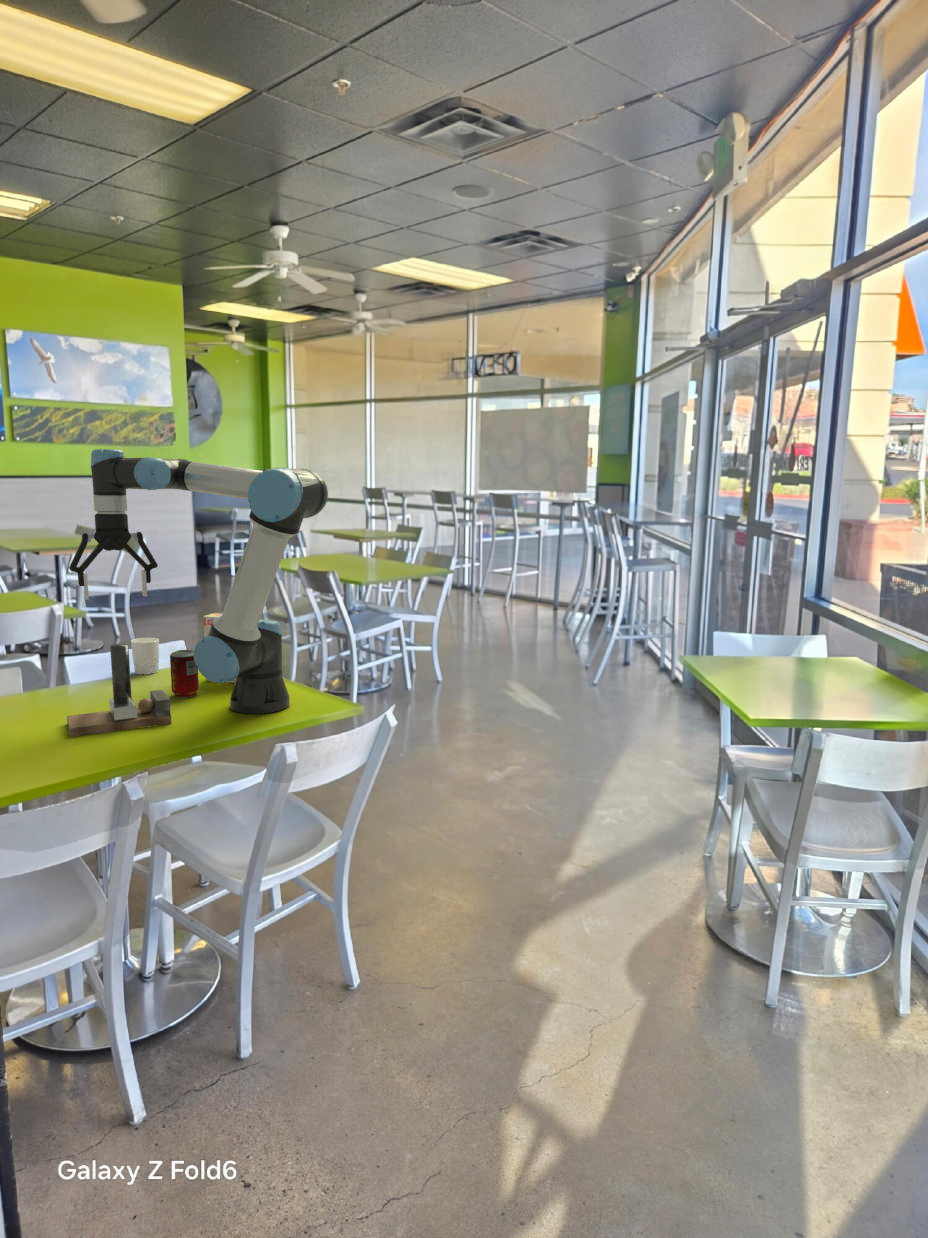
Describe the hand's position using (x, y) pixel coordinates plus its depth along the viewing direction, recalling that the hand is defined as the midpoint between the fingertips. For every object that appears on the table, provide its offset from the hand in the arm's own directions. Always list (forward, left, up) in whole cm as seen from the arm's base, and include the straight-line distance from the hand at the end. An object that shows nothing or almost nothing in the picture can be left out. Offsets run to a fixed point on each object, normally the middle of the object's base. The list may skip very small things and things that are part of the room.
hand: (116, 597), depth 201 cm
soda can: (-10, -14, -29) cm, 34 cm away
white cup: (+14, -36, -29) cm, 48 cm away
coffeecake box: (-16, -32, -29) cm, 46 cm away
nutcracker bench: (-7, +13, -29) cm, 32 cm away
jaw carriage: (-8, +12, -26) cm, 30 cm away
